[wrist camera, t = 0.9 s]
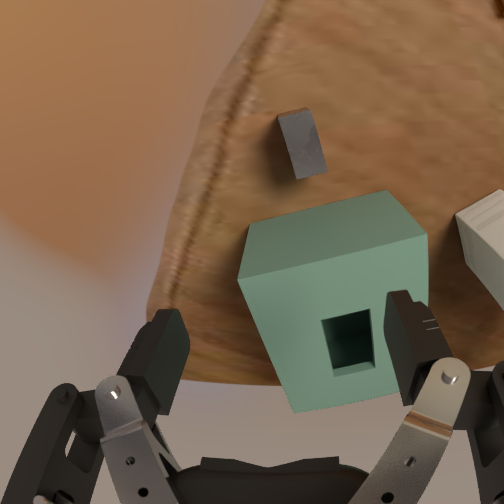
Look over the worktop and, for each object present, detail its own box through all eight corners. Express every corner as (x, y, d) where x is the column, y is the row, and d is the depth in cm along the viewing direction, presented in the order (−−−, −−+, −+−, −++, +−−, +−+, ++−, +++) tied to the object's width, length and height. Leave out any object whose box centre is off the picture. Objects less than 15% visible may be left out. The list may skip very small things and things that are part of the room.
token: (305, 107, 25) (310, 109, 21) (320, 158, 28) (327, 171, 23) (278, 114, 26) (278, 118, 22) (294, 165, 28) (296, 179, 24)
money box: (386, 189, 28) (427, 233, 19) (399, 324, 36) (421, 385, 27) (250, 223, 31) (237, 279, 23) (293, 349, 39) (294, 413, 30)
